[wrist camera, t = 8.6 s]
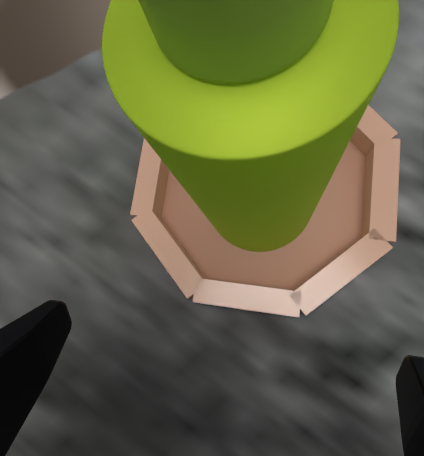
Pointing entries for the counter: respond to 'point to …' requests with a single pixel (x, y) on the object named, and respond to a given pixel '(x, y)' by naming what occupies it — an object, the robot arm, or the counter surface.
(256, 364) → the counter surface
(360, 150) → the dish
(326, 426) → the counter surface
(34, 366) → the robot arm
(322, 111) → the soap dispenser
